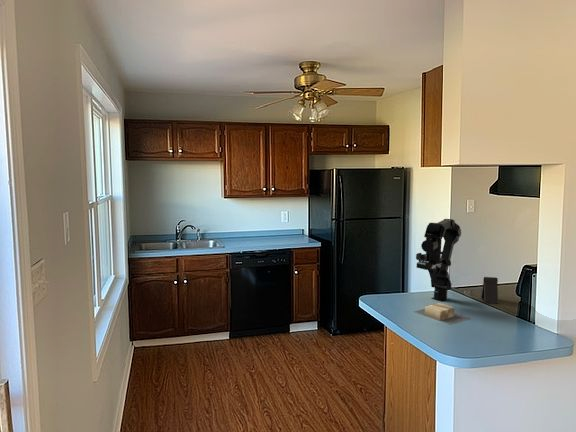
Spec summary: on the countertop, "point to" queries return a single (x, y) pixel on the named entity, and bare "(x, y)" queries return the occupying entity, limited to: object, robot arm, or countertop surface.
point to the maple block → (439, 311)
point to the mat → (451, 320)
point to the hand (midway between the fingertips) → (432, 281)
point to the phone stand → (490, 290)
